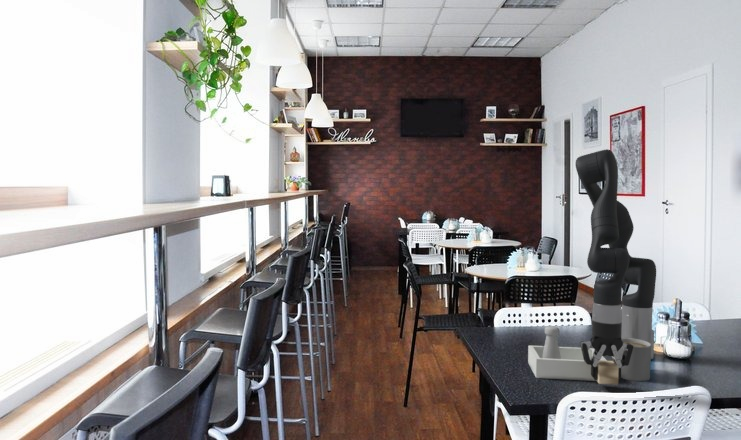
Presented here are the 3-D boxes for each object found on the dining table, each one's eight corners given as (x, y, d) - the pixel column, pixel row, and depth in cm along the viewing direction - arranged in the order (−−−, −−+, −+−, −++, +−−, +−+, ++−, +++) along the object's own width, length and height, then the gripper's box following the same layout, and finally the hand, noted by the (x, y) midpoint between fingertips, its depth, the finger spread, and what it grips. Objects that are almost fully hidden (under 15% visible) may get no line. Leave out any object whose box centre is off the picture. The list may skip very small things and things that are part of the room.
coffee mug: (641, 383, 152) (642, 349, 151) (607, 374, 159) (608, 341, 159) (660, 373, 160) (661, 341, 160) (627, 365, 168) (628, 334, 167)
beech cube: (612, 378, 150) (612, 360, 149) (618, 384, 145) (618, 366, 144) (593, 377, 150) (593, 360, 150) (599, 383, 145) (599, 366, 145)
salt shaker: (559, 366, 164) (560, 325, 164) (562, 372, 159) (563, 329, 158) (540, 365, 165) (541, 324, 165) (542, 371, 160) (543, 328, 159)
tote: (594, 365, 167) (594, 348, 167) (608, 381, 153) (609, 362, 153) (528, 362, 170) (528, 345, 170) (536, 377, 156) (536, 359, 155)
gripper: (629, 316, 149) (627, 375, 150) (576, 315, 151) (575, 373, 152) (639, 323, 142) (637, 385, 143) (583, 321, 144) (582, 383, 145)
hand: (605, 379), depth 147 cm, fingers closed on beech cube, 5 cm apart
